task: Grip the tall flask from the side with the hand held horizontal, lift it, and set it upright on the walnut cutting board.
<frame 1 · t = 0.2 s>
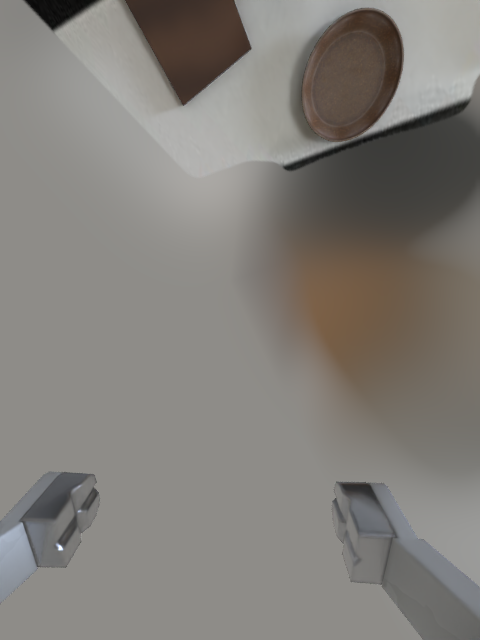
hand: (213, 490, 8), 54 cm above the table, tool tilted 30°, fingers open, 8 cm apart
saucer: (345, 83, 40), on the table
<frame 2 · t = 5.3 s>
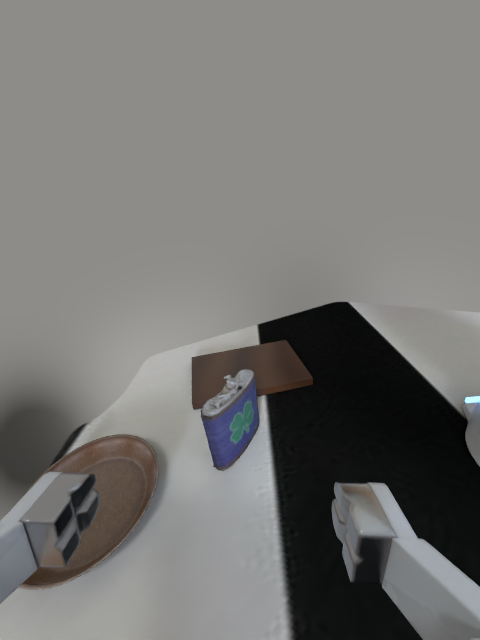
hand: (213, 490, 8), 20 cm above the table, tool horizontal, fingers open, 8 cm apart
cutting board: (246, 372, 46), on the table
flask: (238, 442, 33), on the table
saucer: (97, 506, 28), on the table
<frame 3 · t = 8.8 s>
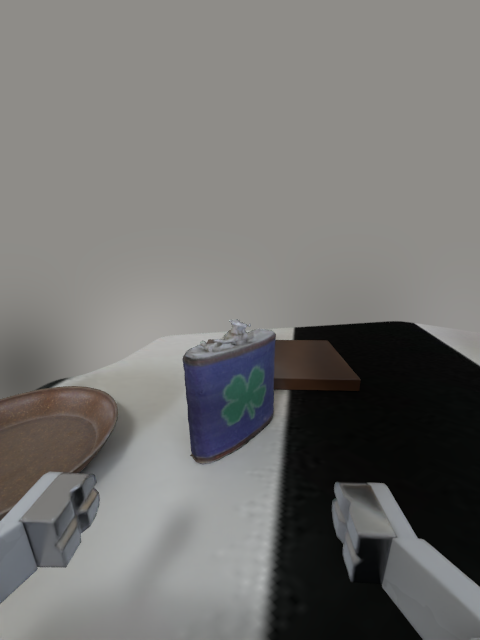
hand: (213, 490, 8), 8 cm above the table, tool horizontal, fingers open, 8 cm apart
cutting board: (269, 365, 36), on the table
flask: (237, 435, 23), on the table
saucer: (19, 466, 19), on the table
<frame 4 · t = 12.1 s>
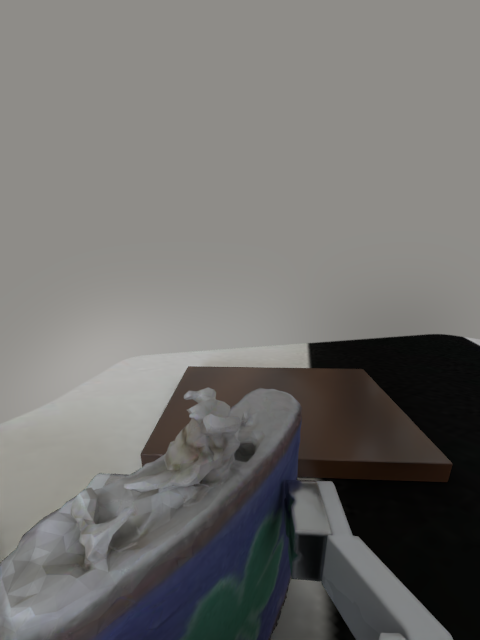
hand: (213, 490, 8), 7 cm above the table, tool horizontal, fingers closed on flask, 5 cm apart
cutting board: (280, 414, 23), on the table
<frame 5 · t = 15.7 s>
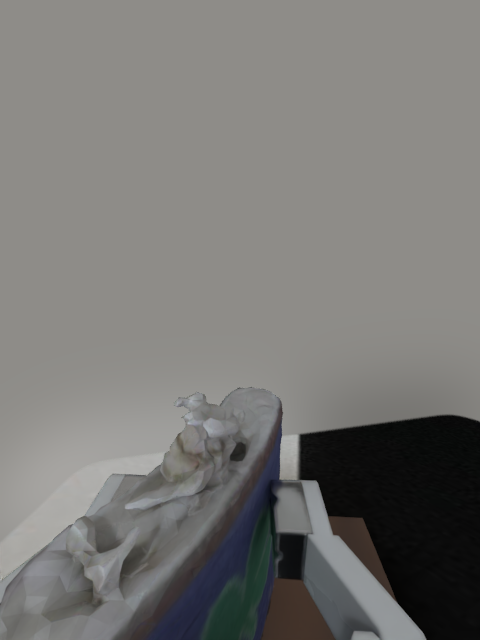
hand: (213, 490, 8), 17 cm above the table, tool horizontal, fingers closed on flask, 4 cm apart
cutting board: (250, 625, 17), on the table
when the fingers open (8 cm above the table, at t = 19.2 s): flask stays where it is, resting on cutting board.
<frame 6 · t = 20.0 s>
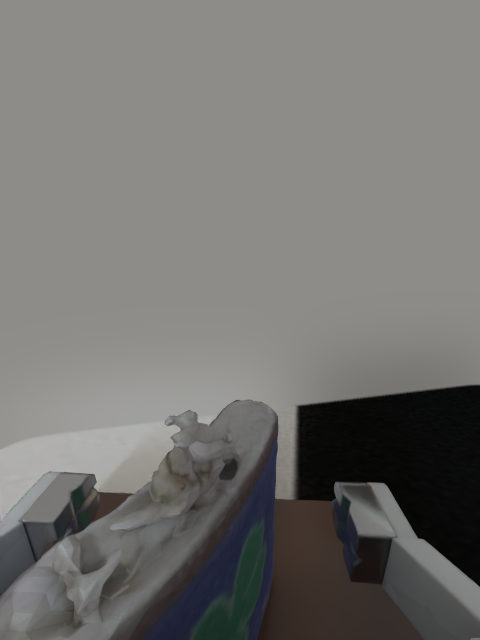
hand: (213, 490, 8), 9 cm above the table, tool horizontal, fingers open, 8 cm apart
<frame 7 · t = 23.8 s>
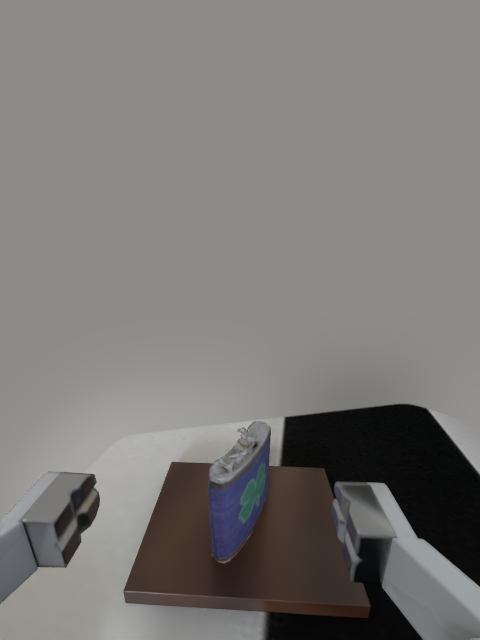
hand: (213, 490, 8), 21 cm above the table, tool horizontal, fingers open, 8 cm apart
cutting board: (245, 526, 27), on the table
flask: (243, 519, 26), point 1 cm above the table, touching cutting board
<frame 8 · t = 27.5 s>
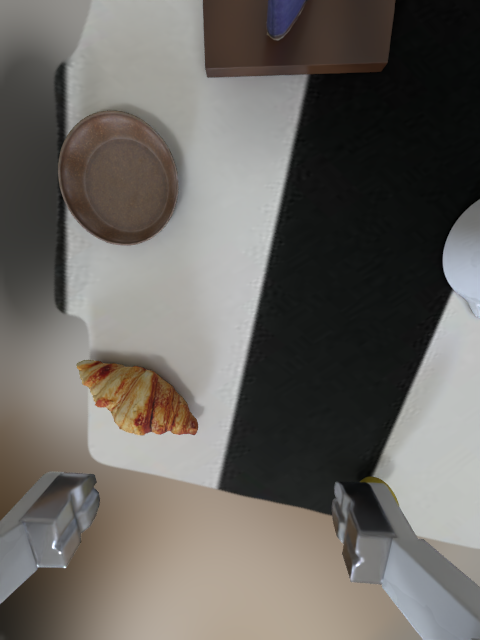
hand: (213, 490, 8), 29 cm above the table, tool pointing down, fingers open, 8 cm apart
cutting board: (296, 1, 27), on the table
croissant: (145, 388, 41), on the table
lemon: (366, 477, 44), on the table
saucer: (128, 187, 33), on the table
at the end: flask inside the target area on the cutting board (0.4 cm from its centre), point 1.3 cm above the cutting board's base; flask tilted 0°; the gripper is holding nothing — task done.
